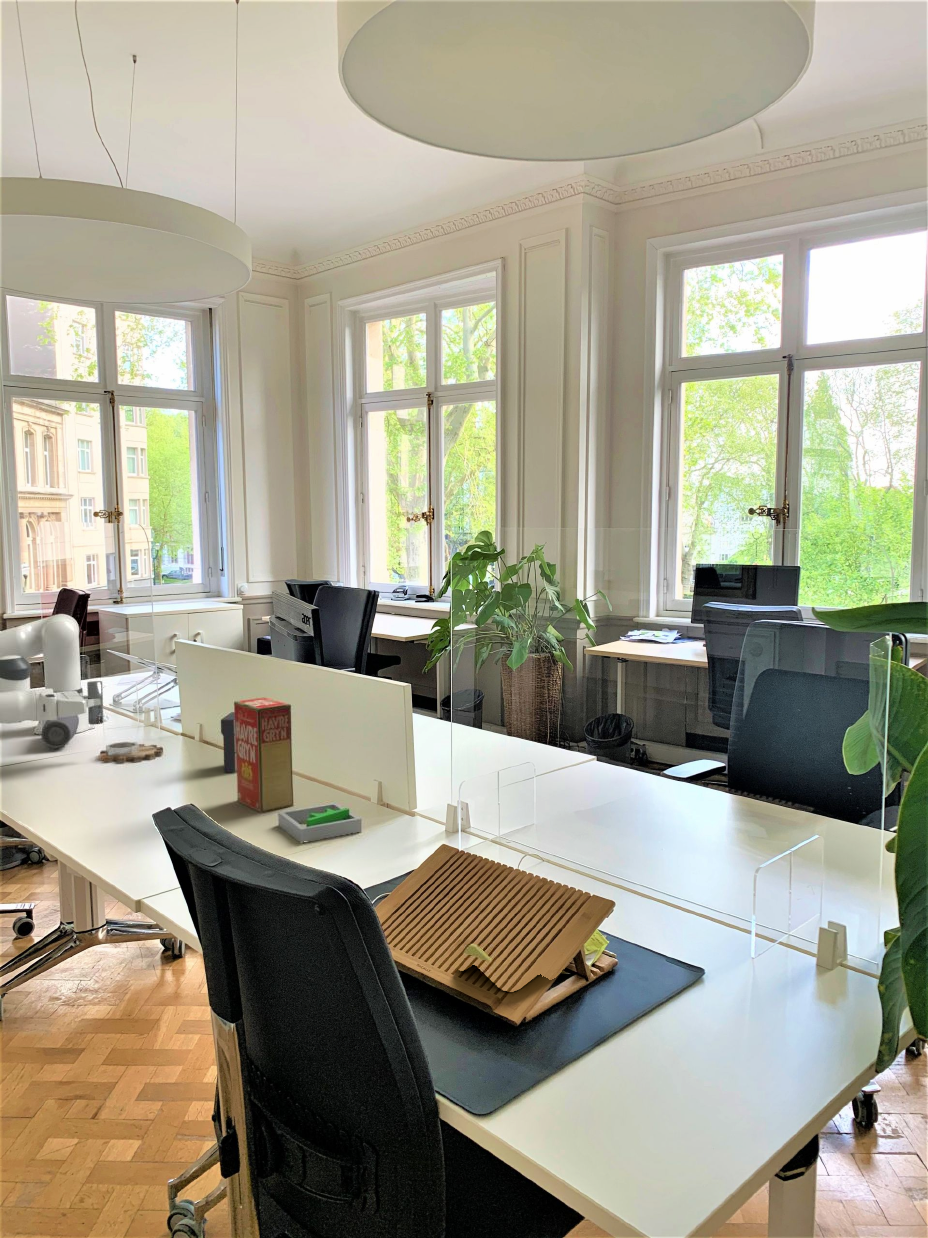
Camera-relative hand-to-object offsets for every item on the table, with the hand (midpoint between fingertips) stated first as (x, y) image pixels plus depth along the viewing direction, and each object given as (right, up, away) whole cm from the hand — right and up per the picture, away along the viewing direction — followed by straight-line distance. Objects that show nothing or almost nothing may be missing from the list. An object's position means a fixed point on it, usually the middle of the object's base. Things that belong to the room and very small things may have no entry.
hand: (98, 700), depth 259 cm
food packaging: (+57, -22, -41) cm, 74 cm away
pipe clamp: (+75, -24, -62) cm, 100 cm away
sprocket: (+7, -17, +7) cm, 20 cm away
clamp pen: (+74, -23, -60) cm, 98 cm away
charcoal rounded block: (+41, -19, -7) cm, 46 cm away
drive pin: (-1, -7, 0) cm, 7 cm away
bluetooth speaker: (-21, -16, +23) cm, 35 cm away
